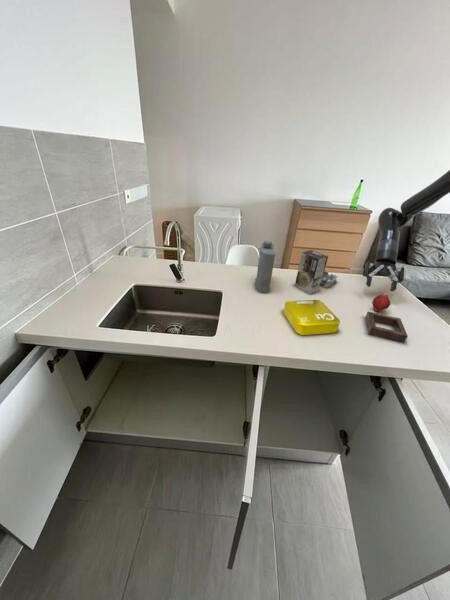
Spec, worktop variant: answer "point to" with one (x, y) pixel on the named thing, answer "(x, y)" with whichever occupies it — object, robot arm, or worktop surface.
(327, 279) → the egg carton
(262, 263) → the flask
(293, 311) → the element tile
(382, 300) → the onion
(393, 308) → the worktop surface
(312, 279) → the coffee box
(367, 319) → the tray
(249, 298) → the worktop surface
